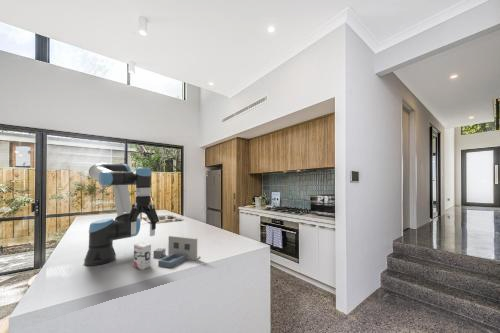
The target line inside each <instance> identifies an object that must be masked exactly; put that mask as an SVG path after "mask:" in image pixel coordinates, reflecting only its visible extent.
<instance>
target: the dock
mask: <svg viewBox="0 0 500 333" xmlns="http://www.w3.org/2000/svg"><path fill="white" fill-rule="evenodd" d="M186 260H187V259H186V255H183V254H176V253H174V254H172V255H169V256H168V255H167V256H164V257H162V258H160V259H159V260H157V261H158V263H157V264H158V267H162V268H169V269H171V268H174V267H175V266H177V265H180V264H181V263H183V262H185V261H186Z"/></svg>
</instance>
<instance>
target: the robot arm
mask: <svg viewBox="0 0 500 333" xmlns="http://www.w3.org/2000/svg"><path fill="white" fill-rule="evenodd" d="M88 175H89V177H90V178H91V179H93V180H96V181H98V184H99V185H100V186H107V187H108V186H112V189H113V190H112V191H113V195H114V203H115V204H114V205H115V207H116V208H115V211H116V216H115V218H111V217H109V218H103V219H99V220H95V221H93V222H91V223H90V224H89V228H88V249H87V252H86V255H85V257H84V260H83V261H84V262H83V263H84V265H85V266H89V267H90V266H101V265H104V264H108V263H111V262H113V261H115V260H116V258H117V257H116V255H117V254H116V250H115V249H114V246H113V243H114V242H113V241H117V240H123V239H128V238H132V237H136V236H137V235H138V234H139V233H140V229H141V219H140V217H139V216H140V214H141V213H142V214H145V215H146V217H147V218H148V220H149V222H150V224H149V237H154V236H156V229H157V226H156V225H157V223H159V222H160V219H159V216H158V214H157V211H156V208H155V204H151V202H152V197H151V195H152V169H151V168H150V167H137V168H136V170H135V171H132V170H131V167H130V166H129V165H128V164H127V163H122V162H121V163H113V162H112V163H111V162H99V163H95V164H94V165H92V166H91V167H89V169H88ZM128 186H135V195H136V196H135V203H134V204H133V203H131V198H130V192H129V187H128Z"/></svg>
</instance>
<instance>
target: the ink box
mask: <svg viewBox="0 0 500 333" xmlns="http://www.w3.org/2000/svg"><path fill="white" fill-rule="evenodd" d="M151 251H152V244H151V243H145V242H139V243H136V244H134V245H133V263H132V264H133V267H134V268H138V269H140V270H145V269H148V268H150V267H151V266H152V262H151V261H152V255H151V254H152V252H151Z"/></svg>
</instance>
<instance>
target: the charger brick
mask: <svg viewBox="0 0 500 333" xmlns="http://www.w3.org/2000/svg"><path fill="white" fill-rule="evenodd" d="M164 257H166V248H161V247H160V248H156V249H154V250H153V257H152V258H158V259H163V258H164Z"/></svg>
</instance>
